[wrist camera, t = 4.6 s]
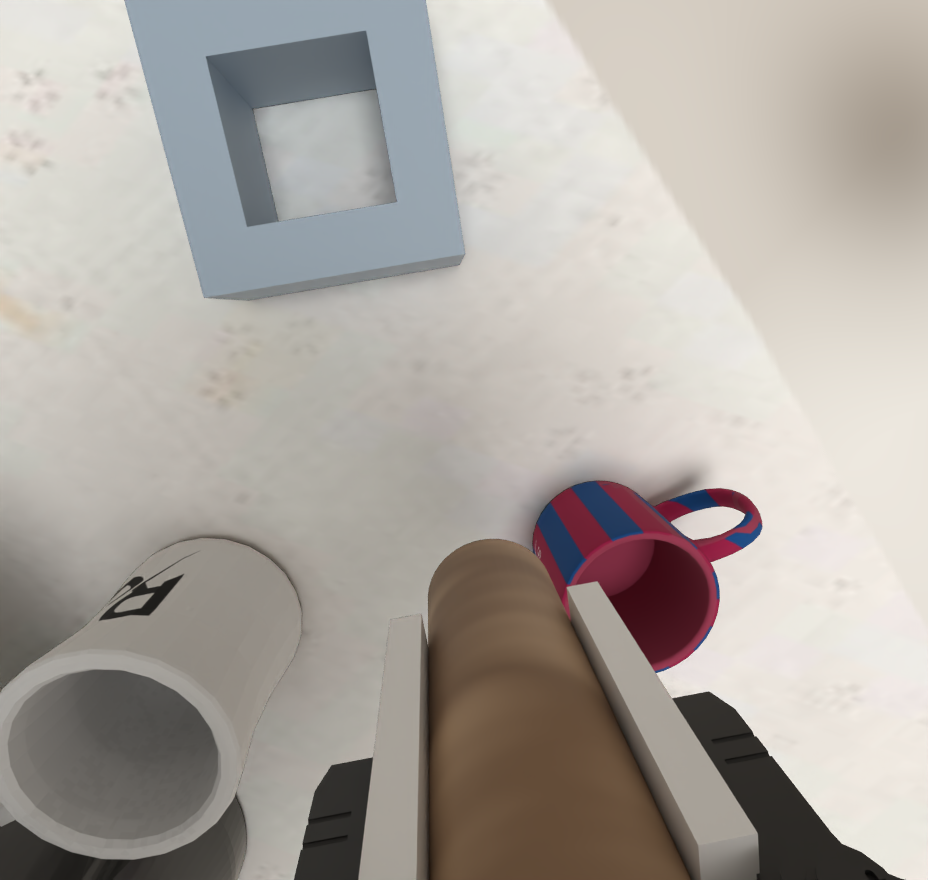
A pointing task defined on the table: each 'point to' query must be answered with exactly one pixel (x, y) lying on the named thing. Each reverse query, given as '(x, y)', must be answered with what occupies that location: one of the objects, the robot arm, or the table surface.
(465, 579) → the dowel
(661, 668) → the cup
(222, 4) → the socket block
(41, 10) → the table surface
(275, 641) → the mug
